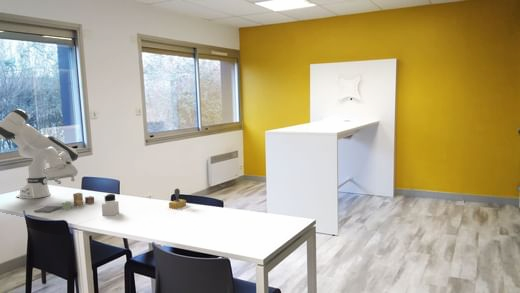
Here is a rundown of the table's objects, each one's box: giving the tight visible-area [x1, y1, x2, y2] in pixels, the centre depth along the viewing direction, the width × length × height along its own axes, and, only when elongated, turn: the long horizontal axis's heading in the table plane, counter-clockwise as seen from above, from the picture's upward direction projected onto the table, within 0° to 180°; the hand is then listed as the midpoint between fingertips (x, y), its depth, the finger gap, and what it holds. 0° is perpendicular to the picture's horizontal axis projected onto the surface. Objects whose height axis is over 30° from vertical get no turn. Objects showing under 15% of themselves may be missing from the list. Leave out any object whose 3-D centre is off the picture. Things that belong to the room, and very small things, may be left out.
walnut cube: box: [84, 195, 95, 205], centre depth 268 cm, size 4×4×4 cm
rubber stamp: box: [168, 188, 187, 210], centre depth 253 cm, size 10×6×12 cm, turn 149°
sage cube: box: [61, 201, 72, 210], centre depth 255 cm, size 4×4×4 cm
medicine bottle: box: [101, 193, 120, 217], centre depth 239 cm, size 7×7×12 cm
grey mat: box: [33, 205, 62, 214], centre depth 252 cm, size 11×11×1 cm
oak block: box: [72, 192, 84, 207], centre depth 261 cm, size 4×4×8 cm
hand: (66, 182), depth 266 cm, fingers open, 8 cm apart
